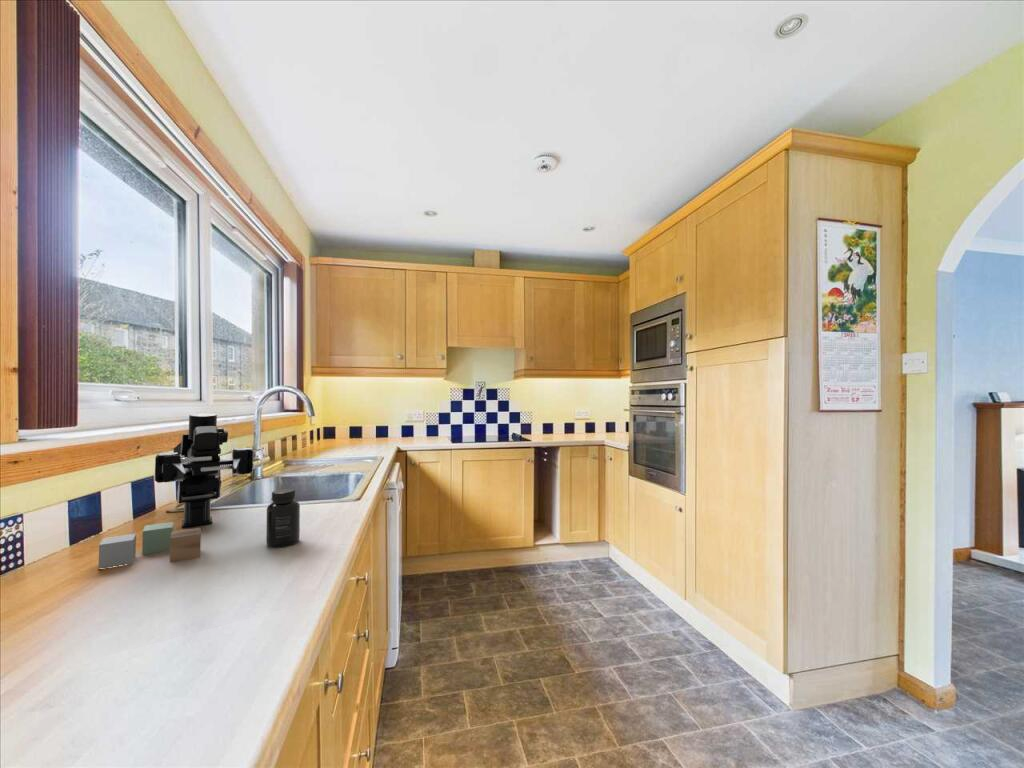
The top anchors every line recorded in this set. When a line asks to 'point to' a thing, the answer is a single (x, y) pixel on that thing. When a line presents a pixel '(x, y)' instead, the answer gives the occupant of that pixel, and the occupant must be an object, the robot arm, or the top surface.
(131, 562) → the slate grey block
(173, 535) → the walnut block
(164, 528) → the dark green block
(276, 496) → the supplement bottle
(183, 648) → the top surface
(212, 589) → the top surface
